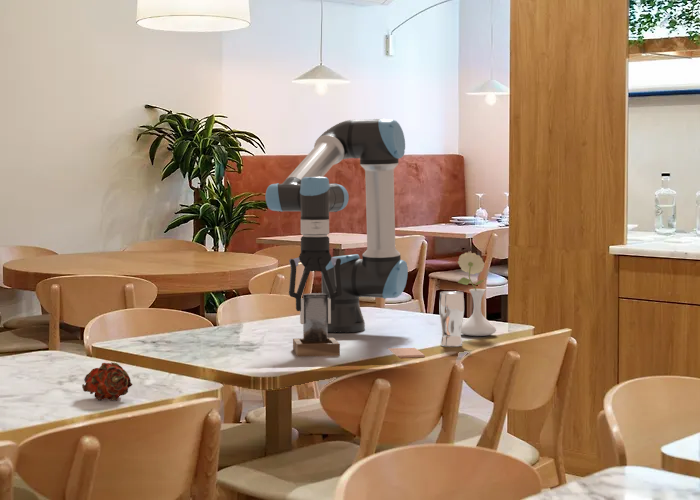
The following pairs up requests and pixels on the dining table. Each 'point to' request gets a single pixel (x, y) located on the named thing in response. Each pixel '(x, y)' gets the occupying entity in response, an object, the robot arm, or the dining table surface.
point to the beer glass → (451, 317)
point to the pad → (406, 352)
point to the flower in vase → (474, 297)
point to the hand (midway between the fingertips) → (315, 322)
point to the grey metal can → (315, 317)
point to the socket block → (316, 348)
